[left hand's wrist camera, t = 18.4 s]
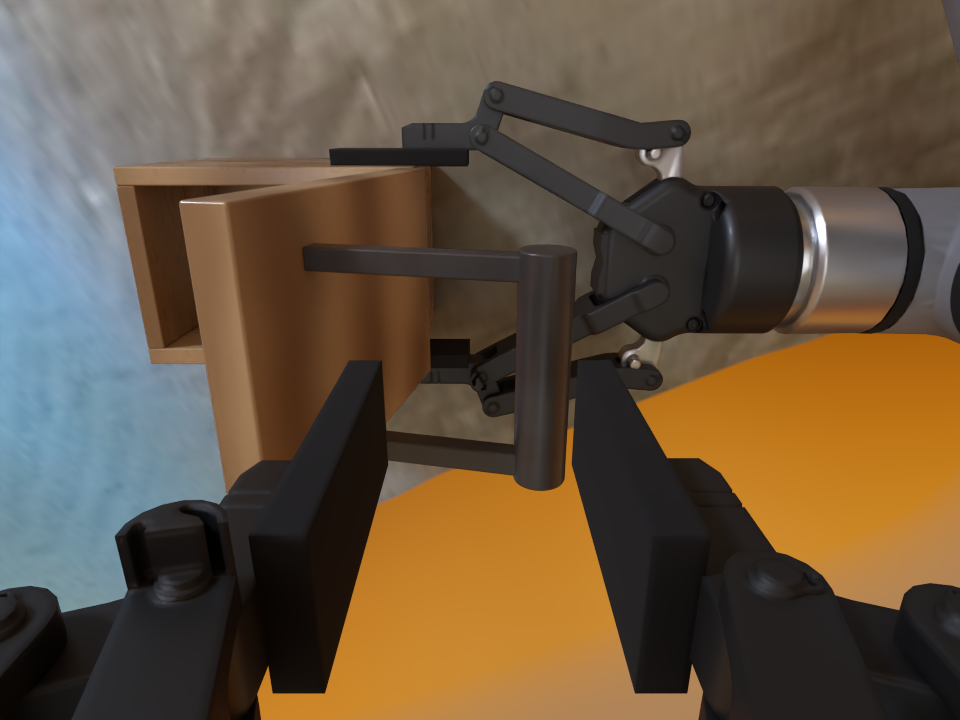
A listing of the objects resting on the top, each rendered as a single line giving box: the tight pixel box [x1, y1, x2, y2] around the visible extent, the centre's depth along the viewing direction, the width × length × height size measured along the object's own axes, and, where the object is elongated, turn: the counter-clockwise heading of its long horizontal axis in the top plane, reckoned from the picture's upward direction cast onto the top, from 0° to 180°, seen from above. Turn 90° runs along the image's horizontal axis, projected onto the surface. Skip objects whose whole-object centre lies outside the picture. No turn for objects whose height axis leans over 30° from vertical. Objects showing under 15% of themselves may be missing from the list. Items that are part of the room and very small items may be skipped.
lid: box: [179, 168, 577, 495], centre depth 21 cm, size 14×10×9 cm
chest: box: [113, 158, 434, 364], centre depth 34 cm, size 14×10×10 cm
